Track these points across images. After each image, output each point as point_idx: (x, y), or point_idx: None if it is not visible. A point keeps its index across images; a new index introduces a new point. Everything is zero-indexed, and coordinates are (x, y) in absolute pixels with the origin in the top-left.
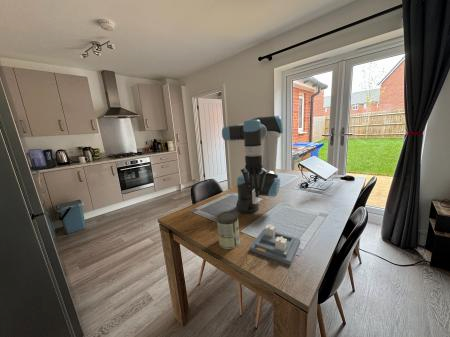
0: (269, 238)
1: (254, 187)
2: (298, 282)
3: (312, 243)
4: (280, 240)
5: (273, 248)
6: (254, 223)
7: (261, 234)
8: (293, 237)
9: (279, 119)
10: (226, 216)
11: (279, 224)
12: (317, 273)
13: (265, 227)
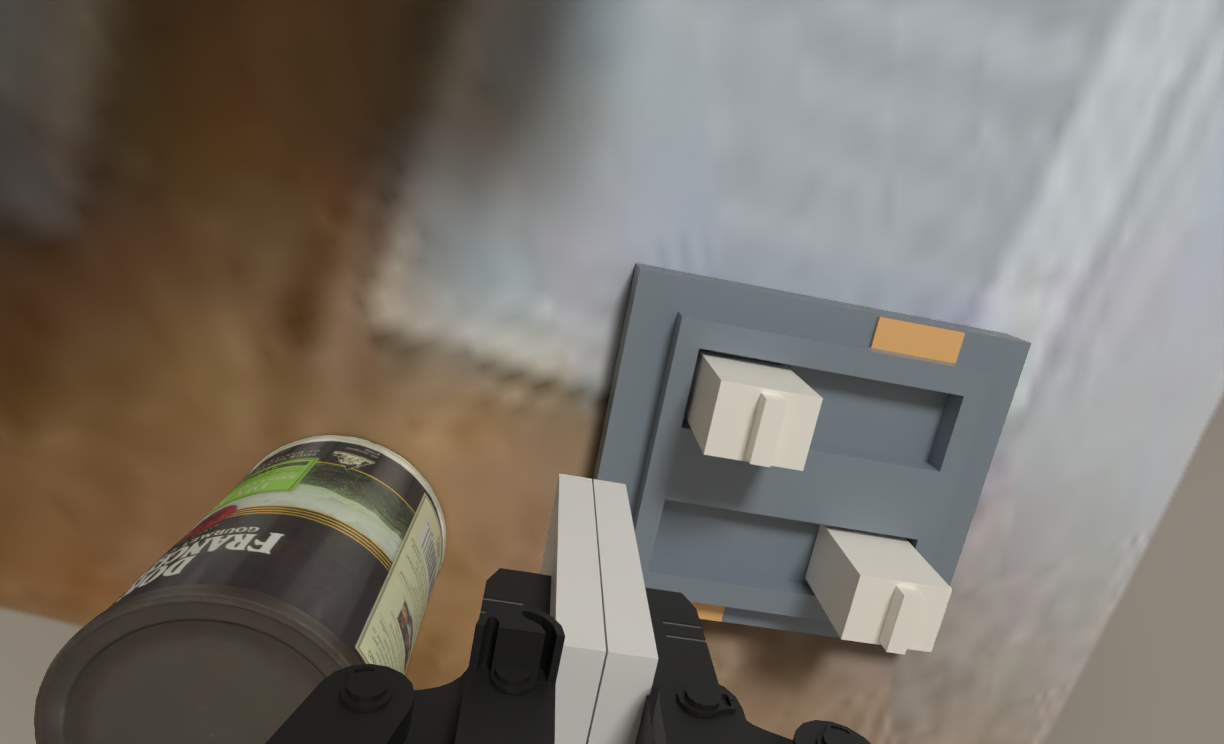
0: (742, 469)
1: (542, 634)
2: (953, 740)
3: (1114, 306)
4: (898, 651)
5: (796, 596)
6: (474, 95)
7: (637, 383)
8: (978, 380)
9: None
10: (195, 736)
11: (792, 27)
12: (1082, 634)
13: (709, 450)
